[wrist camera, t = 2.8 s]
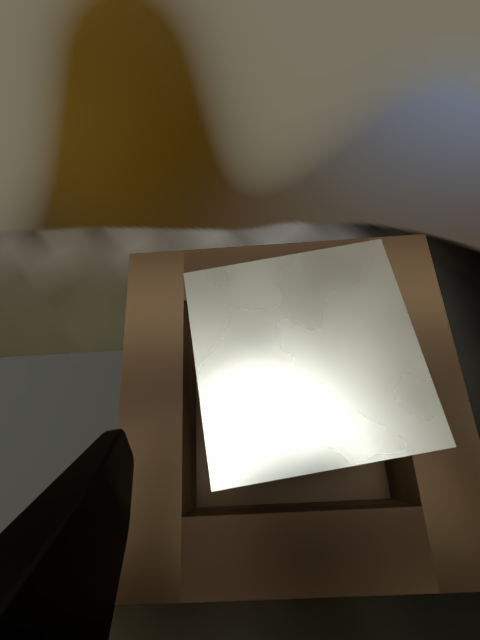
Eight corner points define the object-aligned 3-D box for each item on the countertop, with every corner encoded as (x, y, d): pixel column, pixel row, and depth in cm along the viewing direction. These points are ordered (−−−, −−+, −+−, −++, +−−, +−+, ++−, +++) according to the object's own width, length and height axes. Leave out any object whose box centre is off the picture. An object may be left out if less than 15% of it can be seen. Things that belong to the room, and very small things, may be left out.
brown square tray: (441, 552, 15) (519, 590, 11) (150, 564, 16) (104, 606, 11) (386, 288, 20) (425, 234, 15) (160, 303, 20) (129, 253, 15)
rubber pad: (125, 594, 15) (112, 606, 14) (-111, 603, 16) (-147, 616, 14) (138, 358, 19) (128, 349, 18) (-54, 369, 19) (-78, 361, 18)
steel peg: (358, 456, 15) (456, 447, 8) (235, 478, 15) (211, 491, 7) (327, 339, 17) (380, 238, 9) (217, 358, 17) (183, 273, 9)
